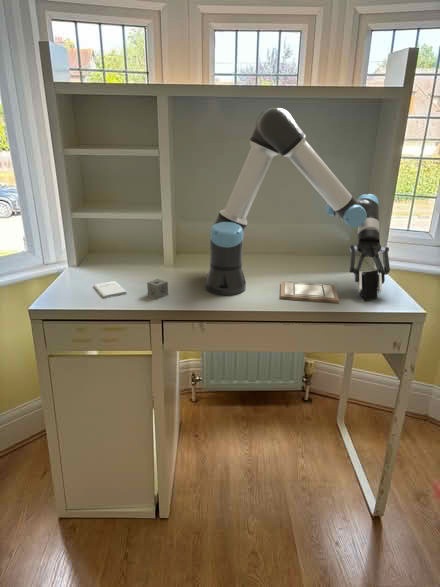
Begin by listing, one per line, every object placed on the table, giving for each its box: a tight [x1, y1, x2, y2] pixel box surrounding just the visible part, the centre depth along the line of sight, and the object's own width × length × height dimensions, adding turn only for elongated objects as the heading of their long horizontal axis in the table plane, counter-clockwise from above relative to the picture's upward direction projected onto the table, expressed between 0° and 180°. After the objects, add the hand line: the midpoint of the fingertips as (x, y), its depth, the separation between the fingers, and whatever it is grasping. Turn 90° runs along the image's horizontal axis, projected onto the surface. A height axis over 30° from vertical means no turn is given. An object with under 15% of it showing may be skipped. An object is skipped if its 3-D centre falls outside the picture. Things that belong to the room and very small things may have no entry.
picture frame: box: [279, 280, 340, 304], centre depth 152 cm, size 20×15×1 cm
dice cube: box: [146, 278, 169, 300], centre depth 147 cm, size 5×5×5 cm
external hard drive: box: [93, 280, 128, 299], centre depth 152 cm, size 2×8×12 cm
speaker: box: [359, 269, 379, 302], centre depth 148 cm, size 8×6×10 cm
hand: (369, 290), depth 145 cm, fingers closed on speaker, 6 cm apart
